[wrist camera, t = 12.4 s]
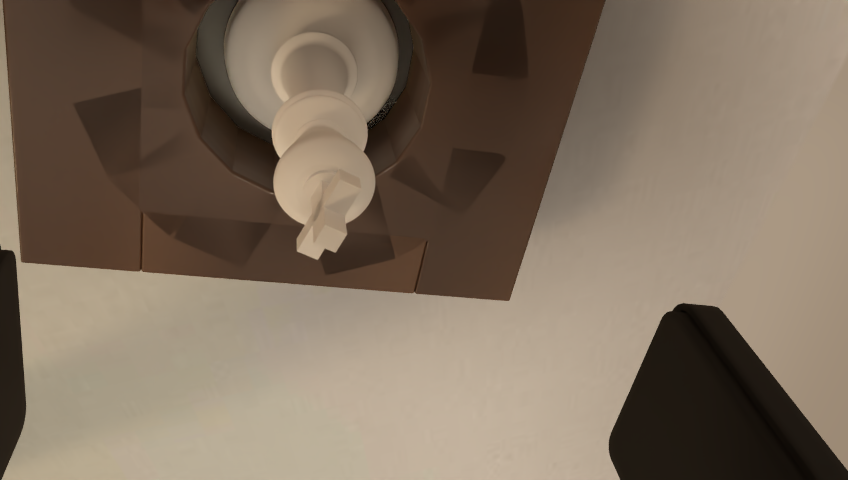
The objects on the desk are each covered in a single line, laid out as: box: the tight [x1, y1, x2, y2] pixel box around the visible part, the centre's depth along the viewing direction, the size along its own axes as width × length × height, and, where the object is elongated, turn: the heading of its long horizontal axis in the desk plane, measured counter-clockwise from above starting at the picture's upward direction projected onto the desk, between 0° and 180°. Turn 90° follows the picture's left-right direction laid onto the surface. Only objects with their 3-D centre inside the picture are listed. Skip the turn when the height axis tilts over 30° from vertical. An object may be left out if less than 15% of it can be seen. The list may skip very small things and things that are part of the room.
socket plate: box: [3, 0, 606, 301], centre depth 20 cm, size 14×12×3 cm
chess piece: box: [224, 0, 399, 260], centre depth 18 cm, size 5×5×10 cm
